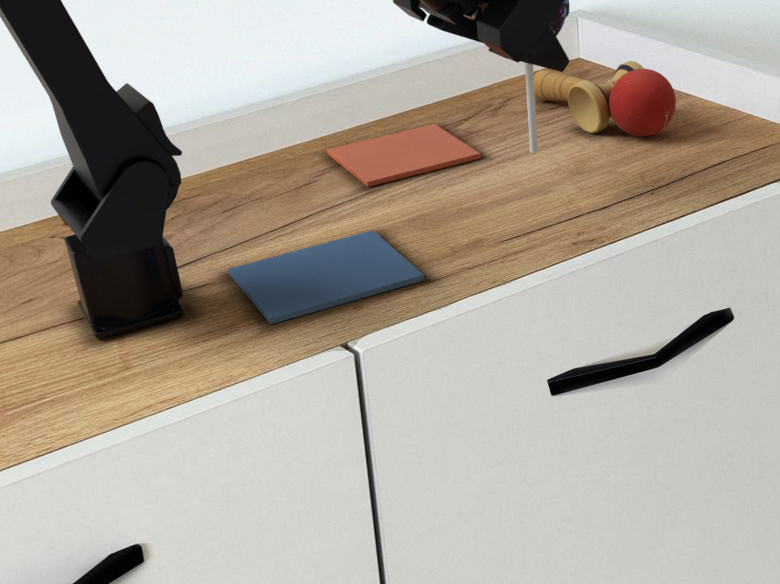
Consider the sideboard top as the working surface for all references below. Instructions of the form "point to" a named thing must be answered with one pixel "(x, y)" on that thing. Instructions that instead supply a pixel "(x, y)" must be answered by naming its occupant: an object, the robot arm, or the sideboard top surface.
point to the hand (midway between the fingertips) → (543, 57)
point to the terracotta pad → (402, 154)
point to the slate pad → (324, 276)
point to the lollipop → (556, 27)
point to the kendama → (613, 99)
